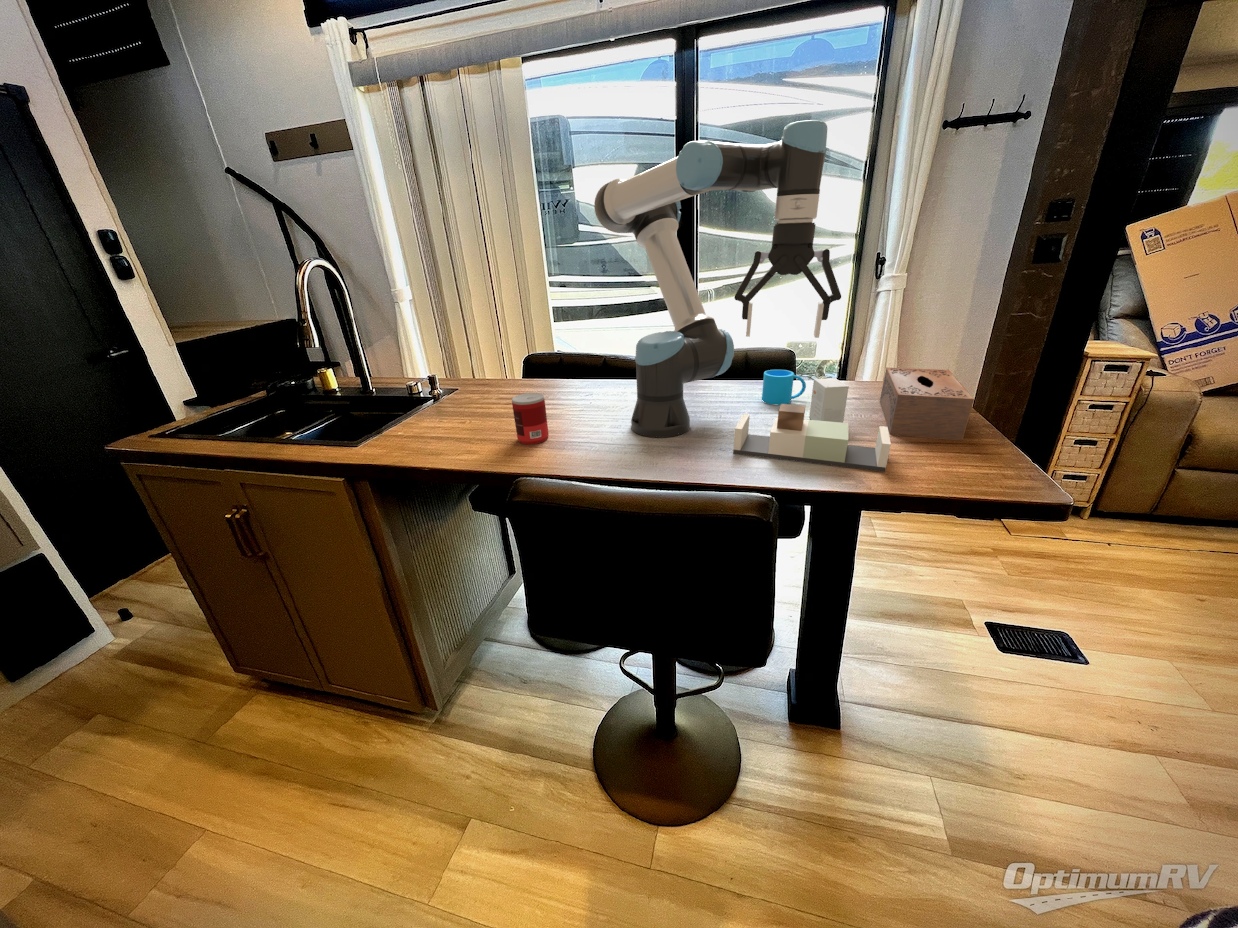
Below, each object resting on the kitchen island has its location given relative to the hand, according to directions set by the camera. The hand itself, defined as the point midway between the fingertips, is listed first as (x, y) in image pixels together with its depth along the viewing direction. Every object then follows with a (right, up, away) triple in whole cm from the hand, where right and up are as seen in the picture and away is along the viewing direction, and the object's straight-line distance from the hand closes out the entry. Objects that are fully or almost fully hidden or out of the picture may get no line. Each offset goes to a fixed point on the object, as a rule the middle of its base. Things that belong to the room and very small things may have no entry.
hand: (781, 336), depth 98 cm
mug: (+14, -8, +39) cm, 42 cm away
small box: (+18, -16, +21) cm, 33 cm away
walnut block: (+3, -18, +4) cm, 19 cm away
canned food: (-56, -21, +21) cm, 63 cm away
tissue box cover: (+41, -16, +21) cm, 49 cm away
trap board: (+7, -24, +5) cm, 26 cm away
